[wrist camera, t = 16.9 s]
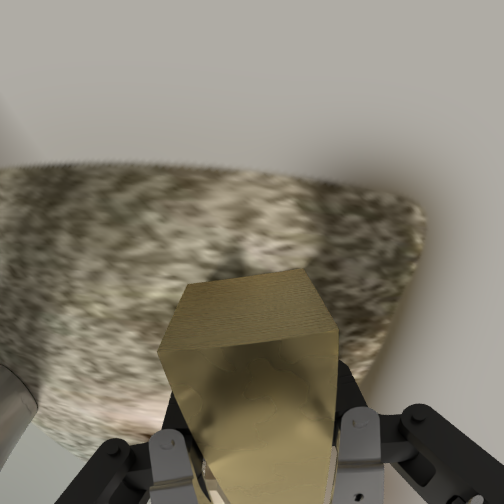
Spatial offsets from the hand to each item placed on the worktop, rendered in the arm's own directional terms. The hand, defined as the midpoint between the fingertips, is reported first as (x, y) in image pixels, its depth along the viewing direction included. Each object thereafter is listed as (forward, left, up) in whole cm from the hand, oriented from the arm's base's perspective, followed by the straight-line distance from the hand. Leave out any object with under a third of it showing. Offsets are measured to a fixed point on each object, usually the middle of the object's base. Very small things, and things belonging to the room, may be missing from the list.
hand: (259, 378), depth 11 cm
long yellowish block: (0, -4, +2) cm, 5 cm away
